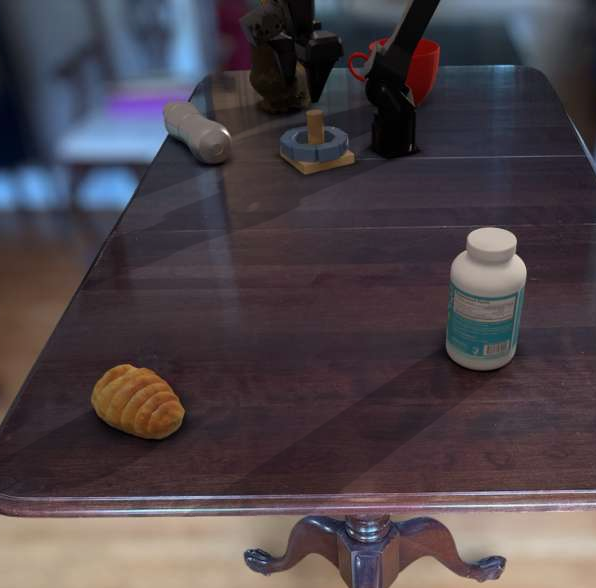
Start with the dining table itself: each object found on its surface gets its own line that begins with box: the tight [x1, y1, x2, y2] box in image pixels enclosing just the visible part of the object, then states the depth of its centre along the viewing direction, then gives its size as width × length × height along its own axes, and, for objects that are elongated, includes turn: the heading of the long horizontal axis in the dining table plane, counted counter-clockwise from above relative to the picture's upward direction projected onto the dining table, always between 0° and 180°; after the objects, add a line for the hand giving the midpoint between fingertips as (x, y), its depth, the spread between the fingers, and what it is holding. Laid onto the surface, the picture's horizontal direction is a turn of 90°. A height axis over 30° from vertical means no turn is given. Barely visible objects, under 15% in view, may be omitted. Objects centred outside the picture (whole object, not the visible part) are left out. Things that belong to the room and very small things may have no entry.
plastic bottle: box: [162, 100, 233, 165], centre depth 118 cm, size 6×7×20 cm
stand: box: [279, 109, 355, 176], centre depth 114 cm, size 9×9×8 cm
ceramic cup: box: [347, 37, 441, 108], centre depth 134 cm, size 13×17×10 cm
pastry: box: [90, 363, 186, 440], centre depth 68 cm, size 9×7×4 cm
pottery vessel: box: [244, 0, 312, 114], centre depth 130 cm, size 25×11×20 cm, turn 175°
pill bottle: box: [445, 227, 527, 371], centre depth 72 cm, size 8×7×14 cm
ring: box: [279, 125, 349, 163], centre depth 115 cm, size 10×10×2 cm
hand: (301, 94), depth 113 cm, fingers open, 9 cm apart
